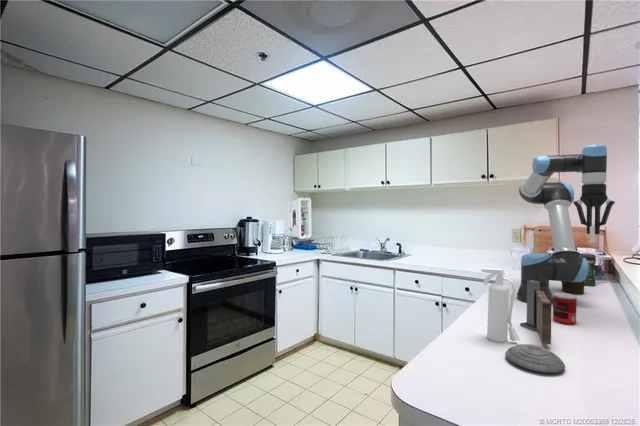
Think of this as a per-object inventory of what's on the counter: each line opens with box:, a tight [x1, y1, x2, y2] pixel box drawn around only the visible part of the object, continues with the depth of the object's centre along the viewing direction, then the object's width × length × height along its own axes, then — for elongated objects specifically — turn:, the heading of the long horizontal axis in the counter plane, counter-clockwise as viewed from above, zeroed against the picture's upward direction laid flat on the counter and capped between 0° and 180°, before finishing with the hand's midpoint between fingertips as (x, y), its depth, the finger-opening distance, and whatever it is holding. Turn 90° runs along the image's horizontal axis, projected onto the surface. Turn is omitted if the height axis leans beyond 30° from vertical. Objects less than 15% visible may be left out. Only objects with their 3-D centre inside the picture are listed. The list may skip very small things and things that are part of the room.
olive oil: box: [560, 246, 585, 296], centre depth 176 cm, size 11×11×25 cm
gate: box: [536, 290, 552, 346], centre depth 116 cm, size 19×2×13 cm, turn 152°
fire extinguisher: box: [481, 267, 521, 343], centre depth 115 cm, size 7×12×25 cm, turn 42°
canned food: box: [552, 292, 577, 326], centre depth 132 cm, size 8×8×11 cm
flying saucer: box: [504, 343, 566, 374], centre depth 98 cm, size 15×15×6 cm
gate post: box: [519, 280, 540, 332], centre depth 126 cm, size 6×6×18 cm
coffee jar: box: [580, 252, 597, 287], centre depth 194 cm, size 10×8×19 cm
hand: (592, 242), depth 131 cm, fingers closed
